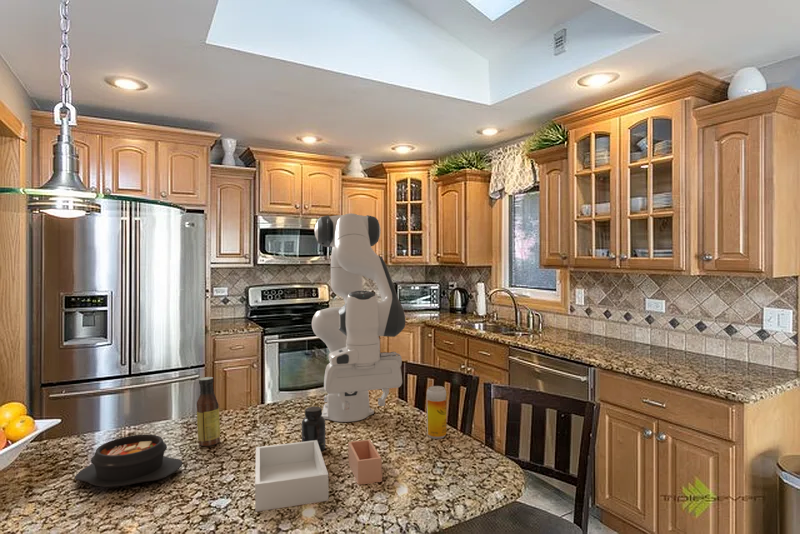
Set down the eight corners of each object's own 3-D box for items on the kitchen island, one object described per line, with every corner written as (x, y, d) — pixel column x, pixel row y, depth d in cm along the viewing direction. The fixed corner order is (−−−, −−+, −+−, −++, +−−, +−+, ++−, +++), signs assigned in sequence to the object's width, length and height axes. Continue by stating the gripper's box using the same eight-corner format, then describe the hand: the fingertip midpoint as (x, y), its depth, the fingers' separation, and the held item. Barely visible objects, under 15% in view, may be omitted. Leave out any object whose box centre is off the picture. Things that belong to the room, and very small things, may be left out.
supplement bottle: (296, 451, 136) (296, 410, 136) (311, 443, 142) (311, 404, 142) (315, 456, 133) (315, 413, 133) (330, 447, 139) (329, 407, 139)
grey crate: (256, 469, 124) (255, 447, 124) (317, 461, 129) (317, 440, 129) (255, 511, 103) (255, 484, 103) (328, 500, 108) (328, 474, 108)
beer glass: (447, 439, 144) (446, 390, 144) (427, 439, 144) (426, 390, 144) (445, 432, 150) (445, 385, 150) (426, 432, 150) (426, 385, 150)
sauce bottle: (223, 439, 146) (223, 375, 146) (214, 447, 140) (213, 380, 140) (203, 439, 147) (202, 375, 147) (193, 447, 141) (192, 380, 140)
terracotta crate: (348, 464, 128) (348, 442, 128) (370, 461, 130) (369, 439, 129) (358, 485, 115) (357, 461, 115) (381, 482, 117) (381, 458, 117)
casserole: (55, 494, 112) (55, 459, 112) (105, 461, 131) (105, 431, 131) (159, 494, 112) (159, 459, 112) (195, 461, 130) (194, 431, 130)
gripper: (398, 349, 128) (399, 400, 128) (322, 354, 122) (323, 407, 122) (404, 353, 122) (405, 406, 122) (325, 358, 116) (326, 414, 116)
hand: (364, 407), depth 122 cm, fingers open, 8 cm apart
